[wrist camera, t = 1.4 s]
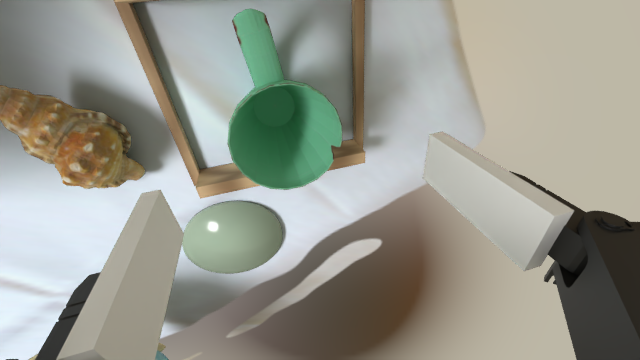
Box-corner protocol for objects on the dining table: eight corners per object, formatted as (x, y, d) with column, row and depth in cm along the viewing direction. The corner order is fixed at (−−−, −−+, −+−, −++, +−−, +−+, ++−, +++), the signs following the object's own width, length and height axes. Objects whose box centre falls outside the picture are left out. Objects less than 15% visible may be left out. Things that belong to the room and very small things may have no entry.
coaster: (202, 280, 42) (201, 283, 42) (166, 214, 34) (165, 217, 34) (288, 256, 45) (288, 259, 44) (272, 191, 37) (273, 193, 36)
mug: (322, 131, 34) (350, 170, 26) (249, 155, 33) (253, 203, 25) (291, -5, 25) (317, -10, 17) (190, 23, 24) (168, 31, 16)
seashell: (55, 145, 29) (-74, 134, 19) (107, 92, 29) (4, 53, 19) (121, 202, 30) (29, 220, 20) (171, 150, 30) (104, 142, 20)
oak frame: (195, 181, 33) (191, 200, 30) (110, -18, 22) (88, -23, 18) (360, 147, 37) (372, 161, 33) (360, -38, 25) (379, -45, 22)
